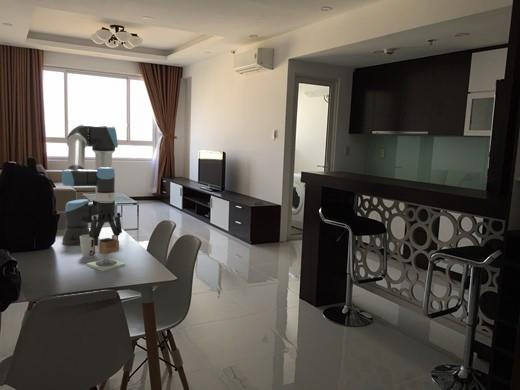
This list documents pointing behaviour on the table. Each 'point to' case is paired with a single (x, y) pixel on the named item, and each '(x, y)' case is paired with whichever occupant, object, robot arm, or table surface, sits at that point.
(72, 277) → the table surface
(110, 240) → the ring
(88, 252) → the cup
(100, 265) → the peg stand
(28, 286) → the table surface
